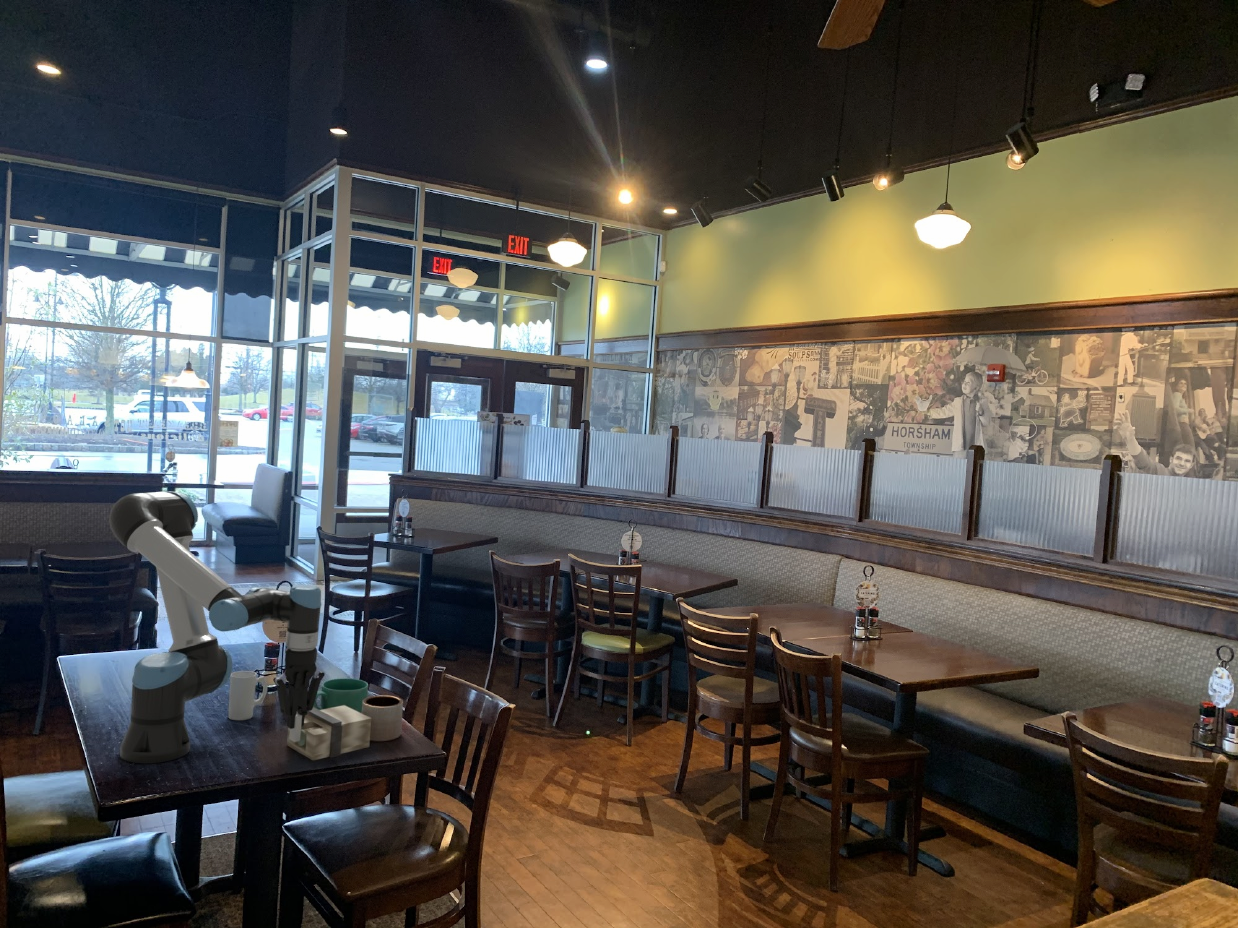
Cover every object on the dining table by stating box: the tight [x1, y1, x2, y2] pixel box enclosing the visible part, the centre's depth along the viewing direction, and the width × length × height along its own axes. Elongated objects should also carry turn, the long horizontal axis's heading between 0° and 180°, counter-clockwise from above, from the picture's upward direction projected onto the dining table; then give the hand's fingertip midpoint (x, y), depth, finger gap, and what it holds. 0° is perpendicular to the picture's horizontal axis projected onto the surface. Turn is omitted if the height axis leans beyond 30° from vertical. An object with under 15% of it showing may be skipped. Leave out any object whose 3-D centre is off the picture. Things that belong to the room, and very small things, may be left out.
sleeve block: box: [286, 705, 371, 761], centre depth 226 cm, size 16×15×9 cm
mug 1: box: [227, 670, 268, 721], centre depth 243 cm, size 10×7×12 cm, turn 127°
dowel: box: [298, 726, 323, 746], centre depth 225 cm, size 14×4×4 cm, turn 139°
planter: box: [362, 694, 404, 743], centre depth 236 cm, size 11×11×10 cm
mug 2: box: [313, 677, 369, 713], centre depth 248 cm, size 17×12×10 cm
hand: (294, 739), depth 219 cm, fingers closed
